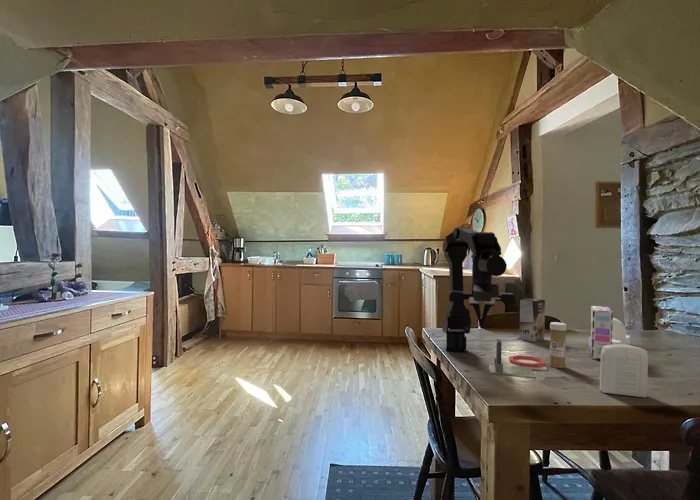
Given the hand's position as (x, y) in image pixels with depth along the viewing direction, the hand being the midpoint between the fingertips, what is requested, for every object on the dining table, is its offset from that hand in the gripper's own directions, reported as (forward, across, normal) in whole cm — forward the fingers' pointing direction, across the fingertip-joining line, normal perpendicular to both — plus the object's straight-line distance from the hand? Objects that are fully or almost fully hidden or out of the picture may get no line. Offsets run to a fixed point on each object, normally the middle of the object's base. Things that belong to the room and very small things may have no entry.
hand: (481, 326), depth 121 cm
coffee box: (+13, +21, +50) cm, 56 cm away
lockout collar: (+13, +14, +10) cm, 22 cm away
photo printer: (+13, +34, -10) cm, 38 cm away
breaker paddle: (+12, +5, 0) cm, 13 cm away
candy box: (+13, +40, +30) cm, 52 cm away
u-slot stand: (+14, +48, +48) cm, 69 cm away
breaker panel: (+13, +8, 0) cm, 16 cm away
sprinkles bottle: (+13, +23, +11) cm, 29 cm away
